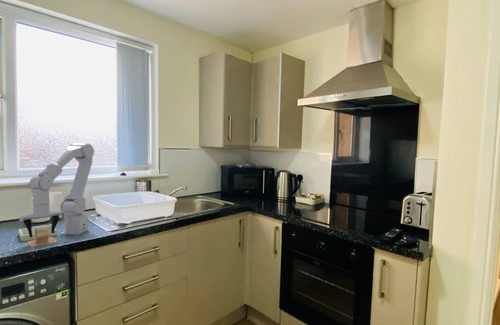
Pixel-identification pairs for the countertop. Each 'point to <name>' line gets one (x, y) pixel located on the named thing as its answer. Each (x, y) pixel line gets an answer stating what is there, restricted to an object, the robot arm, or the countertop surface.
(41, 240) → the birch block
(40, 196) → the robot arm
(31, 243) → the terracotta tile
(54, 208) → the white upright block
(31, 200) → the cup
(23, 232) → the pale green bin
